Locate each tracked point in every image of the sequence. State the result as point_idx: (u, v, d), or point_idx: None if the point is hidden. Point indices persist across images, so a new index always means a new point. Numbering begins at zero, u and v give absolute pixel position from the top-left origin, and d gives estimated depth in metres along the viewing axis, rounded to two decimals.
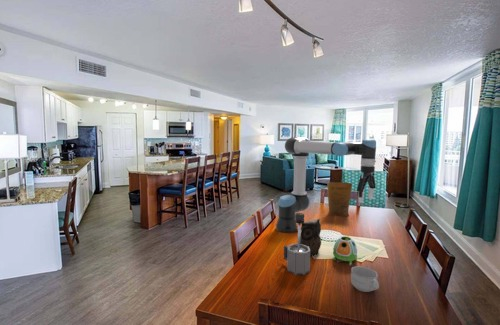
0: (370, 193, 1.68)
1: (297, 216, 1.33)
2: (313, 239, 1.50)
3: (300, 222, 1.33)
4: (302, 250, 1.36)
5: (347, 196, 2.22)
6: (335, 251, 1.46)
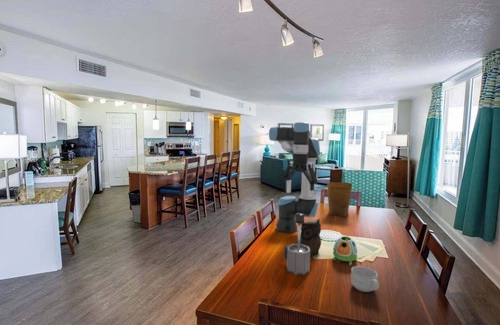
0: None
1: (297, 216, 1.33)
2: (313, 239, 1.50)
3: (300, 222, 1.33)
4: (302, 250, 1.36)
5: (347, 196, 2.22)
6: (335, 251, 1.46)
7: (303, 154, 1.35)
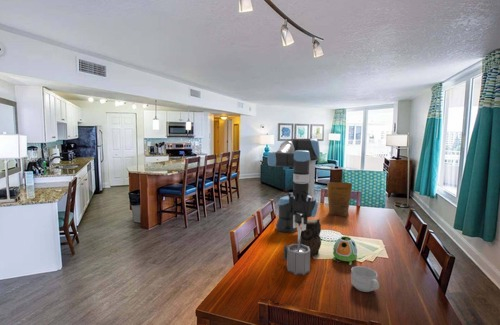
0: None
1: (297, 216, 1.33)
2: (313, 239, 1.50)
3: (300, 222, 1.33)
4: (302, 250, 1.36)
5: (347, 196, 2.22)
6: (335, 251, 1.46)
7: (304, 184, 1.29)
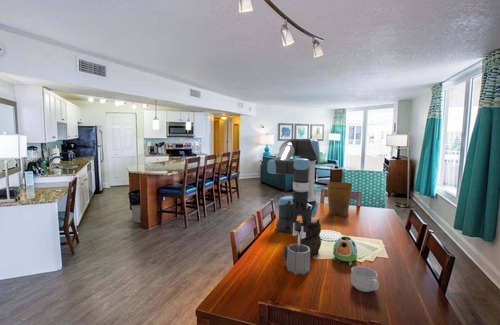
0: None
1: (297, 224, 1.33)
2: (313, 239, 1.50)
3: (300, 230, 1.33)
4: None
5: (347, 196, 2.22)
6: (335, 251, 1.46)
7: (303, 192, 1.30)
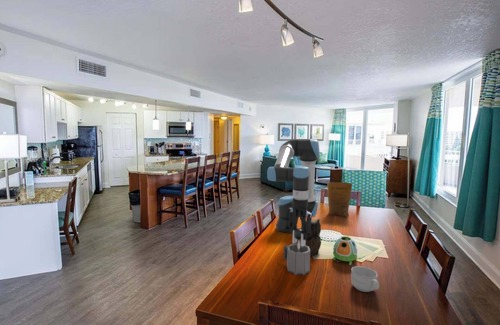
0: None
1: (297, 232, 1.34)
2: (313, 239, 1.50)
3: (299, 238, 1.34)
4: None
5: (347, 196, 2.22)
6: (335, 251, 1.46)
7: (303, 200, 1.30)
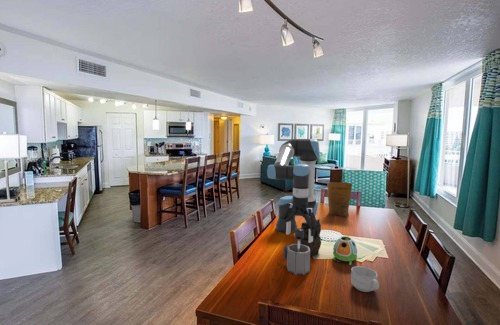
0: None
1: (297, 232, 1.34)
2: (313, 239, 1.50)
3: (299, 238, 1.34)
4: None
5: (347, 196, 2.22)
6: (335, 251, 1.46)
7: (303, 198, 1.30)
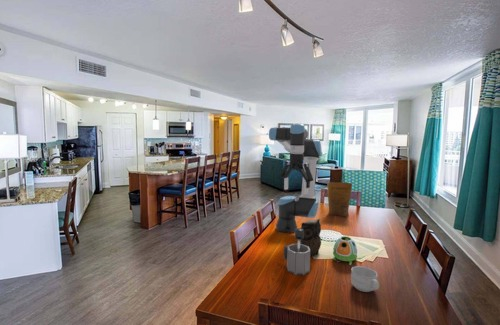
0: None
1: (297, 232, 1.34)
2: (313, 239, 1.50)
3: (299, 238, 1.34)
4: None
5: (347, 196, 2.22)
6: (335, 251, 1.46)
7: (299, 154, 1.45)
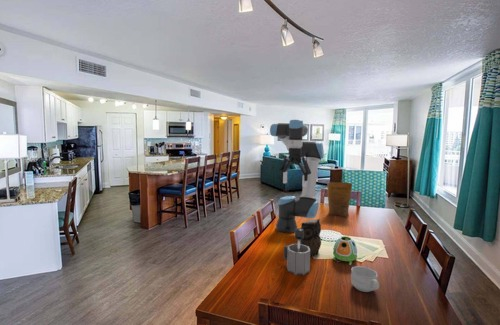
0: None
1: (297, 232, 1.34)
2: (313, 239, 1.50)
3: (299, 238, 1.34)
4: None
5: (347, 196, 2.22)
6: (335, 251, 1.46)
7: (298, 148, 1.50)
